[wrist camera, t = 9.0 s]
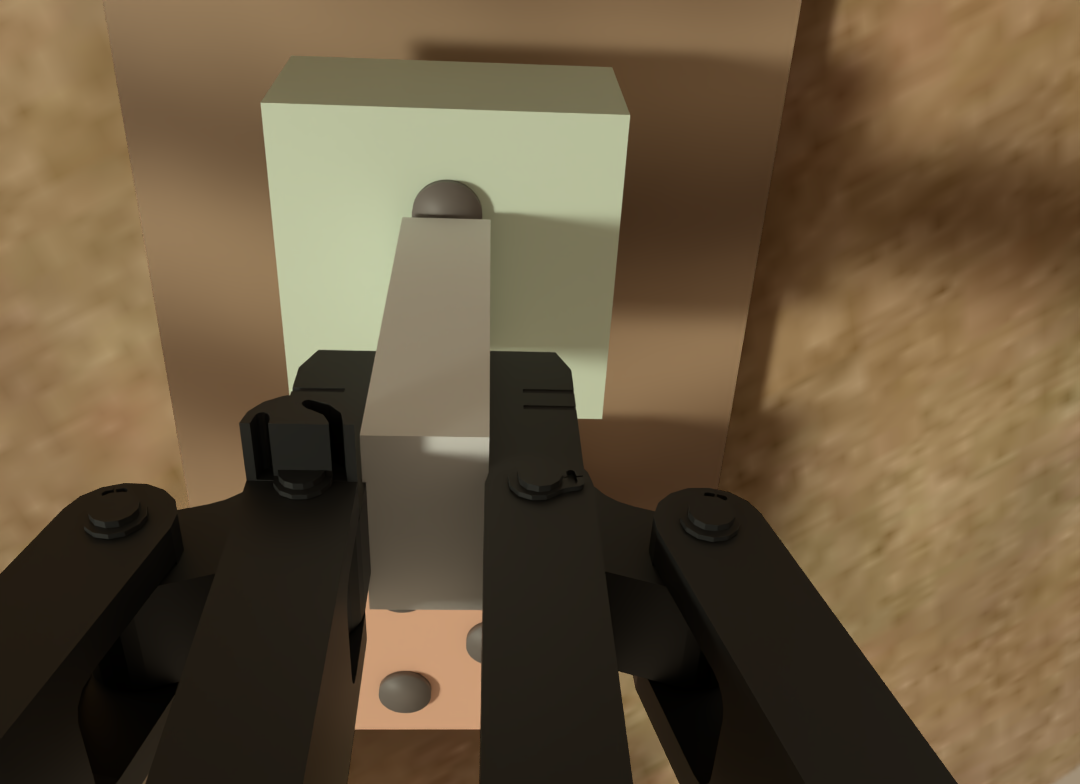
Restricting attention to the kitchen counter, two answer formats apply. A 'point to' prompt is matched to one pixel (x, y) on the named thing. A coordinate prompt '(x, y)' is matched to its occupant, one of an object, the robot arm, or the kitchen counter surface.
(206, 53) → the key board
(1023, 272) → the kitchen counter surface
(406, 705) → the tile three
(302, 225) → the tile two
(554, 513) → the robot arm
